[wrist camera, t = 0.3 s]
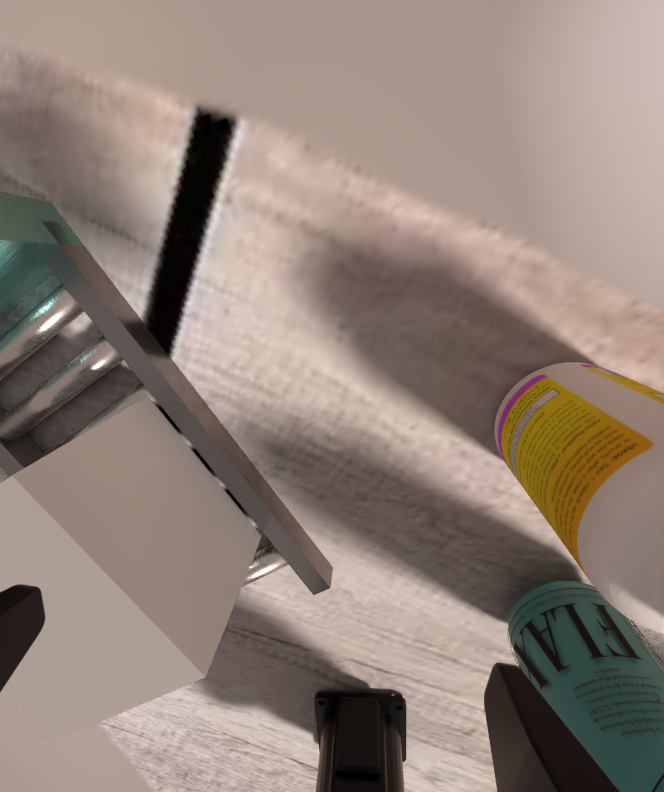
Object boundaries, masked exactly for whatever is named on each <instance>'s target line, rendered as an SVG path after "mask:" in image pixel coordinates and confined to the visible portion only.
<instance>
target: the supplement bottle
mask: <svg viewBox="0 0 664 792" xmlns="http://www.w3.org/2000/svg"><path fill="white" fill-rule="evenodd" d="M494 433H495V441H496V445H497V448H498V450H499V453H500V455H501V456H502V458H503V460H504V461H505V463H506V464H507V466H508V467H509V469H510V470H511V471H512V473H513V474H514V476H515V477H516V479H517V480H518V481H519V483H520V484H521V485H522V487H523V488H524V489H525V491H526V492H527V494H528V495H529V496H530V498H531V499H532V501H533V502H534V503H535V505H536V506H537V508H538V509H539V510H540V512H541V513H542V514H543V516H544V517H545V519H546V520H547V521H548V523H549V524H550V525H551V527H552V528H553V530H554V531H555V532H556V534H557V535H558V537H559V538H560V539H561V541H562V542H563V544H564V545H565V546H566V548H567V549H568V551H569V552H570V553H571V555H572V556H573V558H574V559H575V560H576V562H577V563H578V565H579V566H580V567H581V569H582V570H583V572H584V573H585V575H586V576H587V577H588V579H589V580H590V581H591V583H592V584H593V585H594V586H595V588H596V589H597V590H598V592H599V593H600V594H601V595H602V596H603V597H604V599H605V600H606V601H608V602H609V603H610V604H611V605H612V606H613V607H614V608H615V609H616V610H618V611H619V612H620V613H622V614H623V615H624V616H626V617H628V618H629V619H631V620H632V621H634V622H636V623H638V624H640V625H642V626H644V627H646V628H648V629H651V630H653V631H656V632H659V633H662V634H664V393H662V392H660V391H657V390H655V389H652V388H650V387H648V386H645V385H643V384H641V383H638V382H636V381H634V380H631V379H629V378H627V377H624V376H622V375H620V374H617V373H615V372H612V371H610V370H607V369H605V368H602V367H599V366H596V365H592V364H588V363H580V362H566V363H558V364H554V365H550V366H547V367H544V368H541V369H539V370H536V371H534V372H532V373H531V374H529V375H527V376H526V377H524V378H523V379H522V380H520V381H519V382H518V383H517V384H516V385H515V386H514V387H513V388H512V389H511V390H510V391H509V392H508V394H507V395H506V396H505V398H504V399H503V401H502V403H501V405H500V407H499V409H498V412H497V415H496V420H495V427H494Z"/></svg>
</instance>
